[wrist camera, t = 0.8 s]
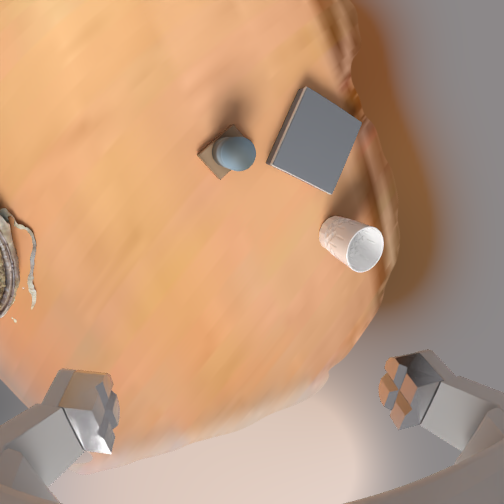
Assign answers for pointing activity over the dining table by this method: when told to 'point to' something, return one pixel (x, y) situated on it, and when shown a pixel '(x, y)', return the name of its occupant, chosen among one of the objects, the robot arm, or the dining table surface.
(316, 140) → the dock
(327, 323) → the dining table surface
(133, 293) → the dining table surface
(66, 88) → the dining table surface
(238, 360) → the dining table surface
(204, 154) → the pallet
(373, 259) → the white cup
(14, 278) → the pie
